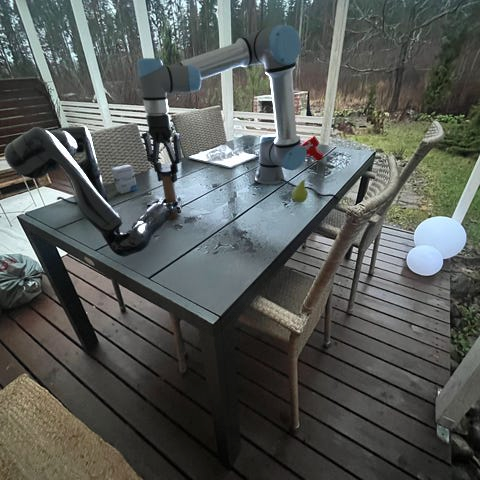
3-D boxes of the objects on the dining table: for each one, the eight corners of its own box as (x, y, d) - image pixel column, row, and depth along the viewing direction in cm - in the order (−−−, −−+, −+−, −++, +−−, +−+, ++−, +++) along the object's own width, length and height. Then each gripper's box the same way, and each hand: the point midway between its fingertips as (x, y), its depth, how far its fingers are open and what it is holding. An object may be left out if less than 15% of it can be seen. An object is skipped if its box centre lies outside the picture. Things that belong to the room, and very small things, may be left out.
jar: (172, 213, 113) (166, 169, 103) (180, 215, 112) (174, 171, 102) (166, 217, 110) (158, 172, 100) (173, 219, 109) (166, 174, 99)
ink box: (133, 186, 138) (127, 163, 132) (137, 189, 135) (132, 165, 129) (116, 191, 133) (110, 167, 127) (121, 194, 130) (114, 170, 124)
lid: (170, 170, 104) (170, 166, 103) (175, 174, 101) (175, 170, 100) (158, 173, 102) (157, 169, 101) (162, 176, 98) (162, 172, 98)
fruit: (288, 200, 123) (290, 174, 116) (302, 197, 125) (305, 172, 119) (296, 206, 118) (299, 179, 111) (310, 203, 120) (314, 177, 114)
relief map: (230, 168, 162) (230, 159, 159) (189, 158, 180) (188, 150, 177) (256, 157, 180) (256, 149, 177) (216, 149, 198) (215, 142, 195)
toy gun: (327, 155, 171) (314, 135, 167) (326, 157, 167) (314, 136, 164) (302, 170, 181) (290, 151, 177) (301, 172, 177) (288, 153, 174)
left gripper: (171, 209, 92) (189, 190, 106) (133, 206, 95) (156, 188, 109) (174, 228, 96) (191, 208, 111) (138, 225, 99) (159, 205, 113)
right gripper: (187, 112, 92) (193, 179, 104) (138, 111, 95) (151, 175, 108) (178, 116, 85) (186, 186, 98) (126, 114, 89) (141, 182, 102)
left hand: (173, 198), depth 110 cm, fingers closed on jar, 4 cm apart
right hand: (167, 180), depth 103 cm, fingers open, 5 cm apart
